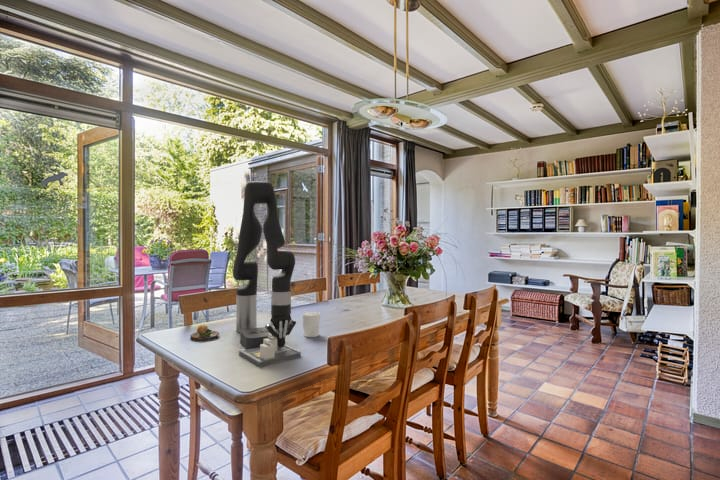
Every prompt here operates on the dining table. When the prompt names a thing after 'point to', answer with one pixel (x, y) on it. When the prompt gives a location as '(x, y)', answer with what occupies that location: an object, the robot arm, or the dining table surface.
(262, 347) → the cream striped block
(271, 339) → the tab
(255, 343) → the streaming box
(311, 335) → the white cup
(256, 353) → the switch board
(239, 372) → the dining table surface
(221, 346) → the dining table surface
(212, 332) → the wood slice table decoration
